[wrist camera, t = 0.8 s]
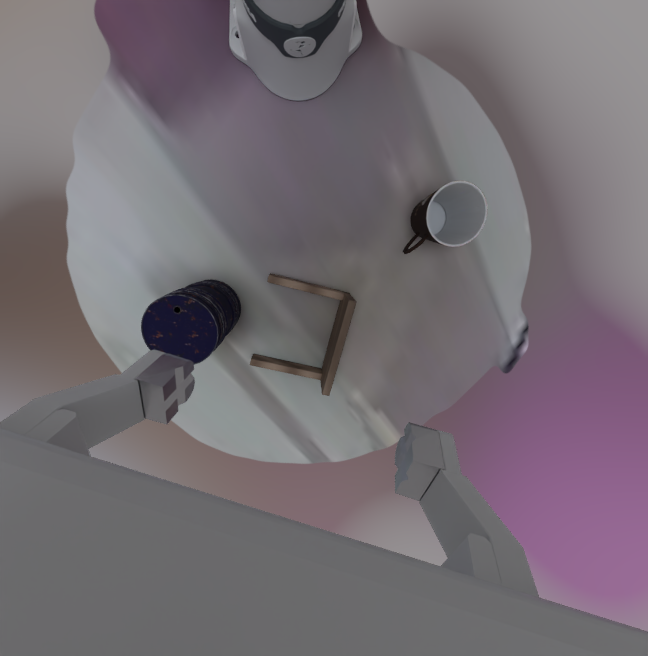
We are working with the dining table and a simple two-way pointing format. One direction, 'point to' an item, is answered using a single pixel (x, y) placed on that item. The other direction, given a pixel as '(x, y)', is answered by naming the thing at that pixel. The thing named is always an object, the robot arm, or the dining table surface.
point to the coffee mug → (449, 215)
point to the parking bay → (334, 343)
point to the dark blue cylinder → (191, 320)
